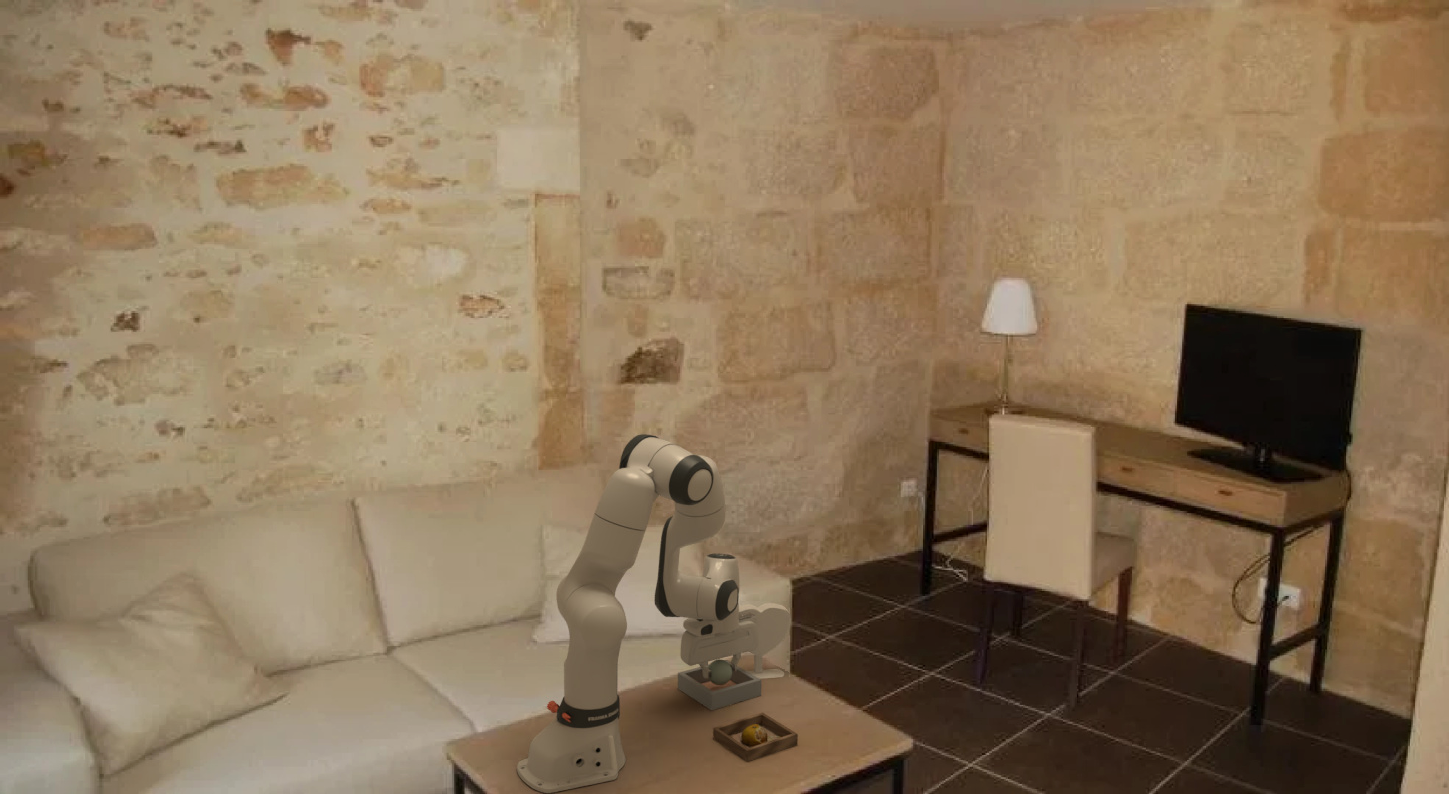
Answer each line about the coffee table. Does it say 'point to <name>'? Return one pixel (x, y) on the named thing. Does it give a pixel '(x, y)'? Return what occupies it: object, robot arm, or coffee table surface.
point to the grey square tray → (719, 687)
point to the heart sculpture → (768, 634)
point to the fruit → (755, 735)
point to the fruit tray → (748, 754)
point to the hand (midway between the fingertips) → (719, 674)
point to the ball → (720, 672)
